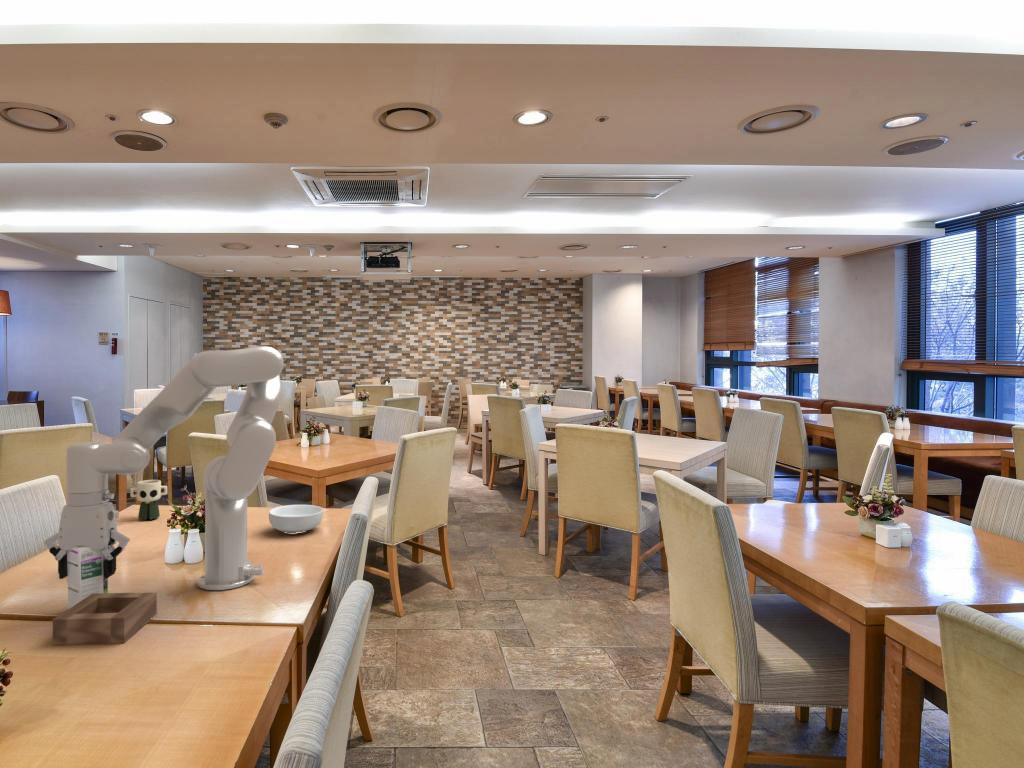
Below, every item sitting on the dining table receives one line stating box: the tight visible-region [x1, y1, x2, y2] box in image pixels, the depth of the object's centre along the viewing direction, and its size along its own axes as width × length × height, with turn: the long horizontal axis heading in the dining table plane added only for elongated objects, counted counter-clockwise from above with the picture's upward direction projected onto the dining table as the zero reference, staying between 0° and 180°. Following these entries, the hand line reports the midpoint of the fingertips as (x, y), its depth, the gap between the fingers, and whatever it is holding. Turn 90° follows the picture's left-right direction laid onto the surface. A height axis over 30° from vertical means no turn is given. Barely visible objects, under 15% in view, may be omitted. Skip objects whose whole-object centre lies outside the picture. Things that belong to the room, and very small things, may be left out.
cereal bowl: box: [268, 504, 324, 533], centre depth 194 cm, size 17×17×7 cm
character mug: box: [129, 479, 168, 521], centre depth 204 cm, size 11×7×13 cm, turn 117°
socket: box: [52, 591, 158, 646], centre depth 122 cm, size 13×13×5 cm
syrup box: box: [67, 547, 109, 610], centre depth 131 cm, size 6×6×14 cm
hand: (87, 576), depth 131 cm, fingers open, 8 cm apart
